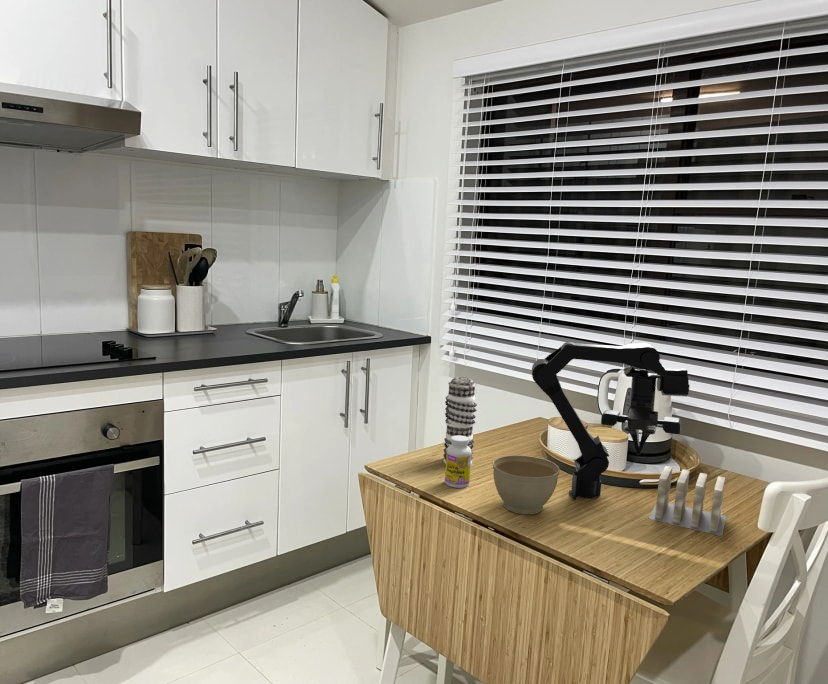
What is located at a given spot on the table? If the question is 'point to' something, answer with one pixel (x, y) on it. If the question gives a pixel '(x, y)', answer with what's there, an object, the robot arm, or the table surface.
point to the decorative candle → (460, 411)
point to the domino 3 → (699, 500)
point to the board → (687, 518)
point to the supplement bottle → (458, 462)
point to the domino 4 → (717, 504)
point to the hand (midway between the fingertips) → (638, 454)
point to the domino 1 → (663, 492)
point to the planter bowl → (525, 482)
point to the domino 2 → (681, 496)
